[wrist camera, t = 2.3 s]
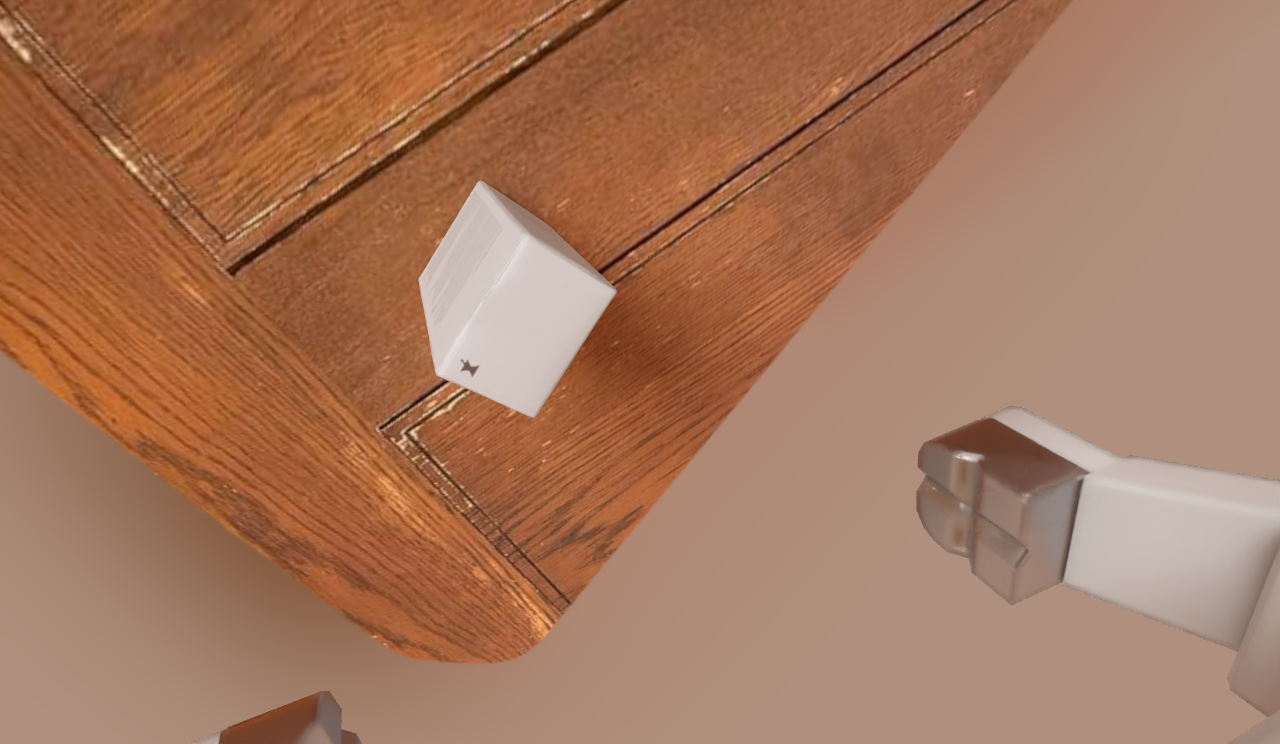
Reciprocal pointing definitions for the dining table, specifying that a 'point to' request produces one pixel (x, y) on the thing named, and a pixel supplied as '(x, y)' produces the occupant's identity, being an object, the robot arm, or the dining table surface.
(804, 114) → the dining table surface
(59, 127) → the dining table surface
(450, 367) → the cosmetic box
